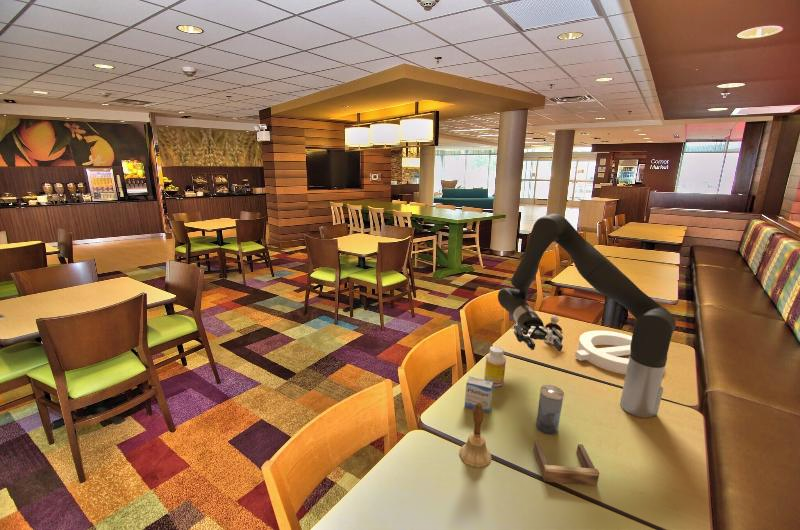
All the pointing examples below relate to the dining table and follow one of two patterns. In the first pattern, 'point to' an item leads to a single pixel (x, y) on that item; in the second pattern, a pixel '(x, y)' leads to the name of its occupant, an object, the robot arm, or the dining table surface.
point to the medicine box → (479, 393)
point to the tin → (549, 409)
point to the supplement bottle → (495, 366)
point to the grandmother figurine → (553, 326)
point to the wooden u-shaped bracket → (567, 468)
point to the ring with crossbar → (605, 350)
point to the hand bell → (476, 443)
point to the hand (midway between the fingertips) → (547, 348)
